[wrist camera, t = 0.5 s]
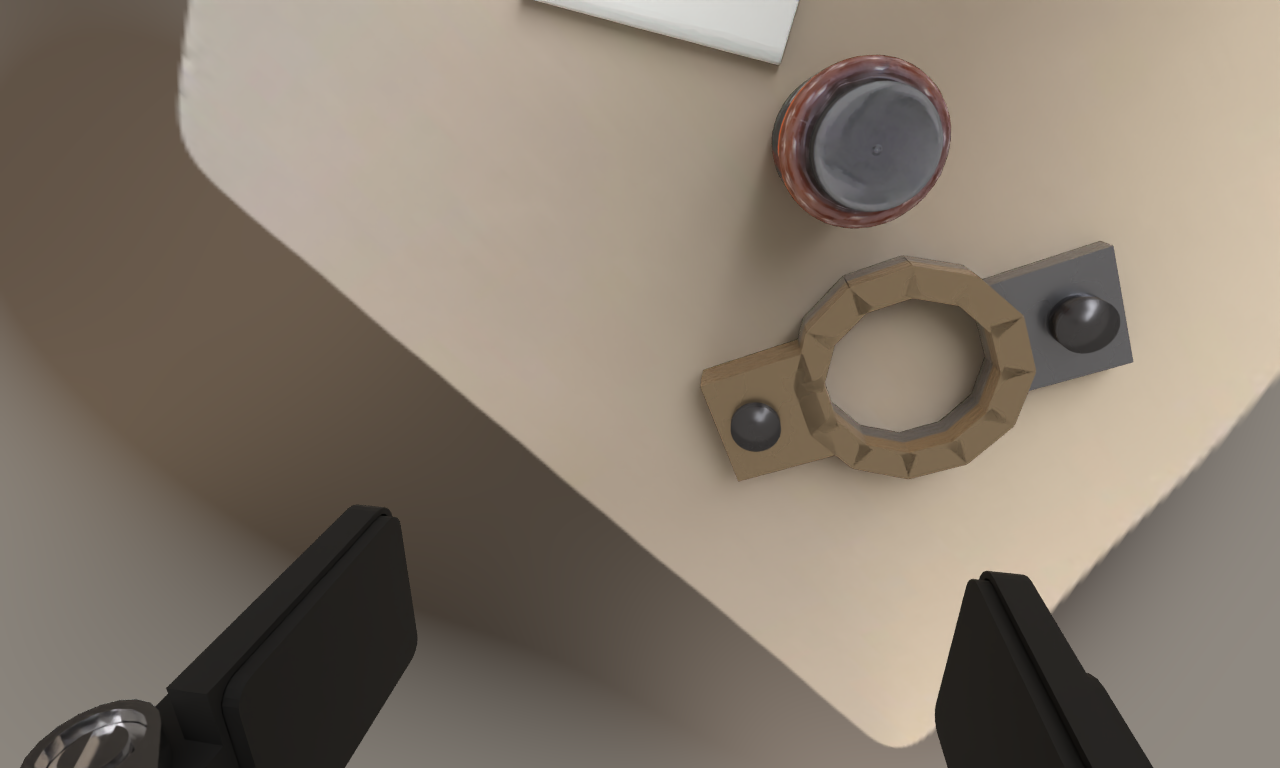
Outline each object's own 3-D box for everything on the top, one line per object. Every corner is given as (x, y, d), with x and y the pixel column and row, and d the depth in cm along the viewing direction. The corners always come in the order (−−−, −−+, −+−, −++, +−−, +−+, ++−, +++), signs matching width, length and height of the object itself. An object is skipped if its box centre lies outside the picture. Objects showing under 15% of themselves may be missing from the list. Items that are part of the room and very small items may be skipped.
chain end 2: (1091, 190, 30) (1118, 196, 28) (1128, 397, 34) (1154, 417, 31) (766, 302, 35) (767, 315, 32) (827, 475, 38) (832, 498, 36)
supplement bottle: (876, 214, 32) (936, 263, 22) (757, 189, 33) (760, 226, 22) (919, 82, 30) (1009, 67, 19) (789, 57, 30) (810, 29, 20)
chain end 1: (987, 225, 31) (1010, 236, 29) (1033, 422, 35) (1057, 448, 32) (687, 329, 36) (681, 347, 33) (753, 495, 39) (753, 524, 36)
